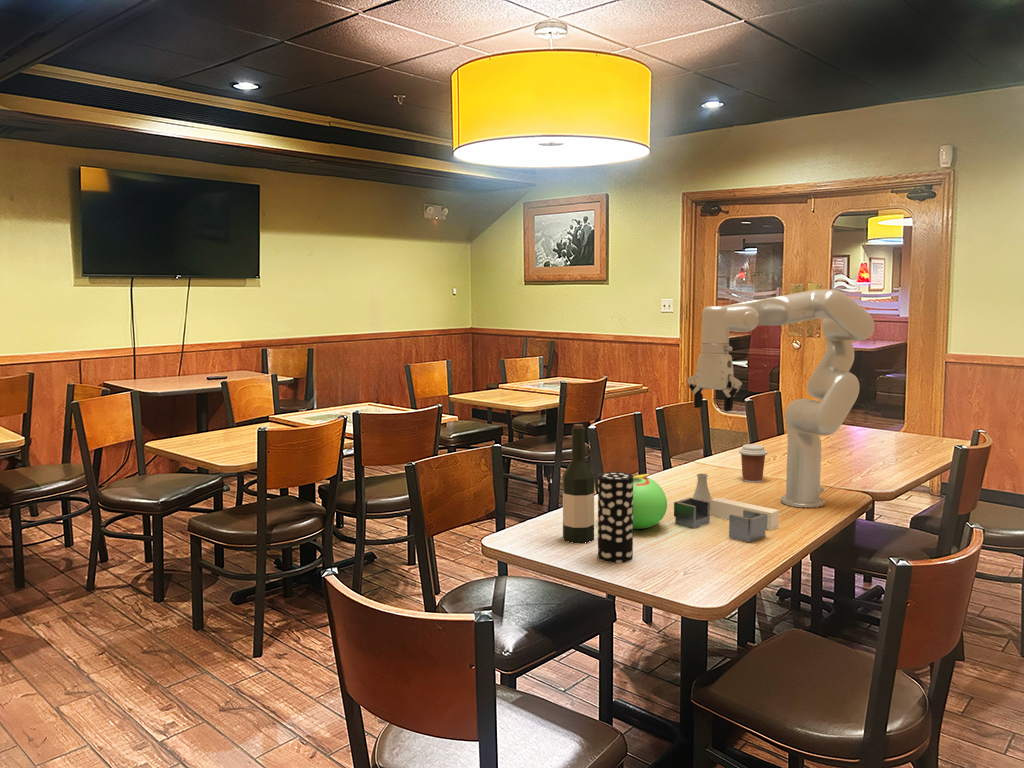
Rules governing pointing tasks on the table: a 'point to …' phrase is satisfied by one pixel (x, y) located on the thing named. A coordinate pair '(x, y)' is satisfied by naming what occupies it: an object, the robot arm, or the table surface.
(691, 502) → the bracket
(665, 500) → the toy bird
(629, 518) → the white-spotted black cylinder
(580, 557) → the table surface
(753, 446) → the coffee cup
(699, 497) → the flask
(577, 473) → the wine bottle
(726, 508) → the rail
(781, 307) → the robot arm
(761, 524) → the bracket
